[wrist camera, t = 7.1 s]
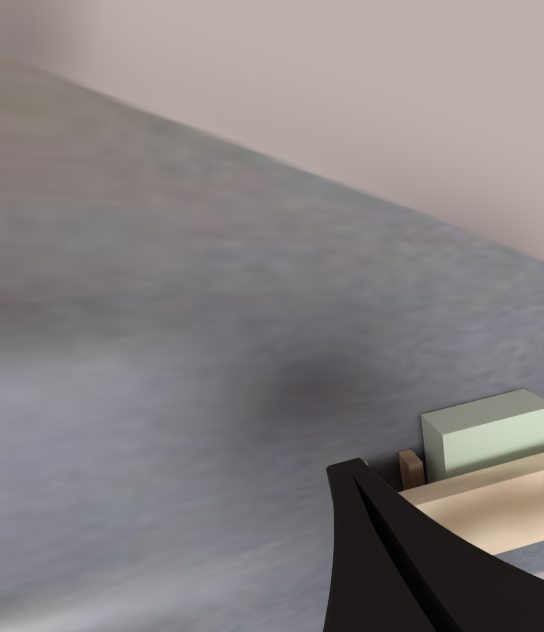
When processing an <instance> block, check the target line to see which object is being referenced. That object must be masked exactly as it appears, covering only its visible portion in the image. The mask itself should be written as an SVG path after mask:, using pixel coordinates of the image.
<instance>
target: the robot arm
mask: <svg viewBox="0 0 544 632" xmlns="http://www.w3.org/2000/svg"><path fill="white" fill-rule="evenodd" d="M326 471H327V475H328V480H329V485H330V490H331V495H332V500H333V507H334V553H333V567H332V576H331V586H330V593H329V600H328V606H327V612H326V618H325V624H324V629H323V632H544V580H543V579H541V578H538V577H536V576H534V575H532V574H529V573H527V572H525V571H523V570H521V569H519V568H517V567H515V566H513V565H511V564H508V563H506V562H504V561H502V560H500V559H498V558H497V557H495V556H493V555H491V554H489V553H487V552H486V551H484V550H482V549H480V548H478V547H476V546H475V545H473V544H471V543H469V542H468V541H466V540H464V539H463V538H461V537H459V536H458V535H456V534H455V533H453V532H451V531H450V530H448V529H447V528H445V527H444V526H442V525H441V524H439V523H438V522H436V521H435V520H433V519H432V518H430V517H429V516H428V515H426V514H425V513H423V512H422V511H421V510H419V509H418V508H417V507H415V506H414V505H413V504H412V503H410V502H409V501H408V500H406V499H405V498H404V497H403V496H402V495H400V494H399V493H398V492H397V491H396V490H394V489H393V488H392V487H391V486H390V485H388V484H387V483H386V482H385V481H384V480H383V479H382V478H381V477H380V476H378V475H377V474H376V473H375V472H374V471H373V470H372V469H371V468H370V467H369V466H368V465H367V464H366V463H365V462H364V461H363V460H362V459H360V458H356V459H352V460H348V461H345V462H341V463H337V464H333V465H330V466H328V467H327V469H326Z"/></svg>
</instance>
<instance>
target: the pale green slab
mask: <svg viewBox="0 0 544 632" xmlns="http://www.w3.org/2000/svg"><path fill="white" fill-rule="evenodd" d="M421 422H422V431H423V441H424V450H425V460H426V469H427V479H428V484H430V483H434V482H438V481H441V480H445V479H449V478H452V477H456V476H460V475H463V474H467V473H471V472H474V471H478V470H482V469H485V468H489V467H493V466H496V465H500V464H504V463H507V462H511V461H515V460H518V459H522V458H526V457H529V456H533V455H537V454H540V453H544V398H542V397H540V396H538V395H536V394H534V393H532V392H530V391H528V390H526V389H520V390H516V391H512V392H508V393H504V394H500V395H496V396H492V397H488V398H484V399H480V400H476V401H472V402H468V403H465V404H461V405H457V406H453V407H449V408H445V409H441V410H437V411H433V412H429V413H425V414H421Z"/></svg>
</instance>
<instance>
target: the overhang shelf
mask: <svg viewBox="0 0 544 632" xmlns="http://www.w3.org/2000/svg"><path fill="white" fill-rule="evenodd" d="M398 455H399V462H400V469H401V477H402V484H403V491H401V492H398V493H399V494H400V495H402V496H403V497H404V498H405V499H406V500H408V501H409V502H410V503H412V504H413V505H414V506H415V507H417V508H418V509H419V510H421V511H422V512H423V513H425V514H426V515H428V516H429V517H430V518H432V519H433V520H435V521H436V522H438V523H439V524H441V525H442V526H444V527H445V528H447V529H448V530H450V531H451V532H453V533H455V534H456V535H458V536H459V537H461V538H463V539H464V540H466V541H468V542H469V543H471V544H473V545H475V546H476V547H478V548H480V549H482V550H484V551H486V552H487V553H489V554H491V555H495V554H499V553H502V552H506V551H509V550H513V549H516V548H519V547H523V546H526V545H530V544H533V543H537V542H540V541H544V453H540V454H537V455H533V456H529V457H526V458H522V459H518V460H515V461H511V462H507V463H504V464H500V465H496V466H493V467H489V468H485V469H482V470H478V471H474V472H471V473H467V474H463V475H460V476H456V477H452V478H449V479H445V480H441V481H438V482H434V483H430V484H427V485H425V479H424V471H423V462H422V461H421V460H420V459H419V458H418V456H417V455H416V454H415V453H414V452H413V451H412V449H408V450H404V451H401V452H398ZM364 462H365V463H366V464H367V462H366V461H364ZM367 465H368V464H367ZM368 466H369V465H368Z"/></svg>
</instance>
